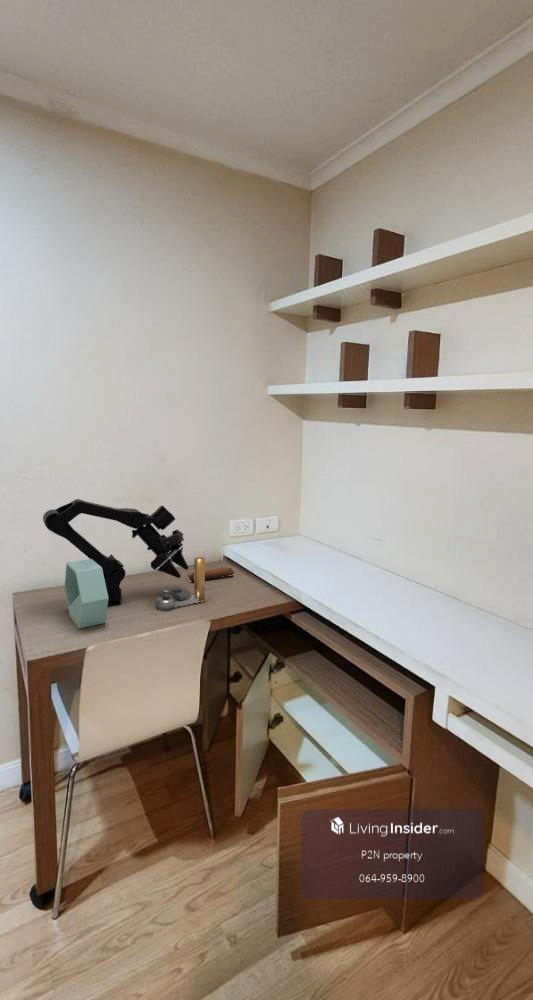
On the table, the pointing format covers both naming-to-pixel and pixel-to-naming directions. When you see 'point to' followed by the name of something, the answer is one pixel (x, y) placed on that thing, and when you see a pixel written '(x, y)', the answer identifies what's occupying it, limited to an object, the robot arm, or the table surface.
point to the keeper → (180, 593)
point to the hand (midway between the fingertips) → (183, 572)
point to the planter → (86, 593)
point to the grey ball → (166, 593)
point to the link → (198, 588)
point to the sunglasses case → (215, 572)
